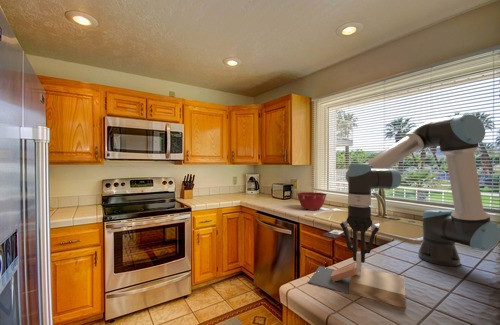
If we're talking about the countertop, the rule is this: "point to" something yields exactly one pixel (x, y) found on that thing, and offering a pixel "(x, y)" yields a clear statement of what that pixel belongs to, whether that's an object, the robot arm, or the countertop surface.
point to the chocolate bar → (333, 234)
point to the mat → (329, 280)
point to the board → (379, 286)
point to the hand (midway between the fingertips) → (359, 270)
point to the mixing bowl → (311, 200)
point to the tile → (344, 272)
